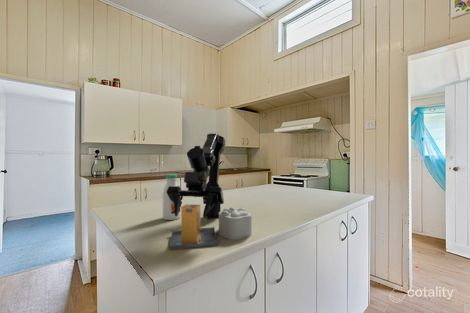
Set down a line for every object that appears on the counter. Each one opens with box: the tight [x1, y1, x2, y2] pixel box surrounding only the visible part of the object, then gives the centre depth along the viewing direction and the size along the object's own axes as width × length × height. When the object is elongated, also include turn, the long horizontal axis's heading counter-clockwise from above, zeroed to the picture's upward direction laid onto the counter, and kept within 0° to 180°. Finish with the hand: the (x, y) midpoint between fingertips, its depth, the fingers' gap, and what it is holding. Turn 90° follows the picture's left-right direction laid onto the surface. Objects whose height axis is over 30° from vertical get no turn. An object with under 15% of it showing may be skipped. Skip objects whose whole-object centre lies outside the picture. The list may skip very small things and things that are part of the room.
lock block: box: [180, 204, 201, 243], centre depth 72 cm, size 4×5×11 cm
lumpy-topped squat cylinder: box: [218, 206, 252, 240], centre depth 82 cm, size 10×13×9 cm
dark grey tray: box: [169, 226, 220, 251], centre depth 74 cm, size 15×12×2 cm
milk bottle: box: [162, 173, 181, 221], centre depth 102 cm, size 8×8×20 cm
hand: (189, 216), depth 70 cm, fingers open, 9 cm apart
